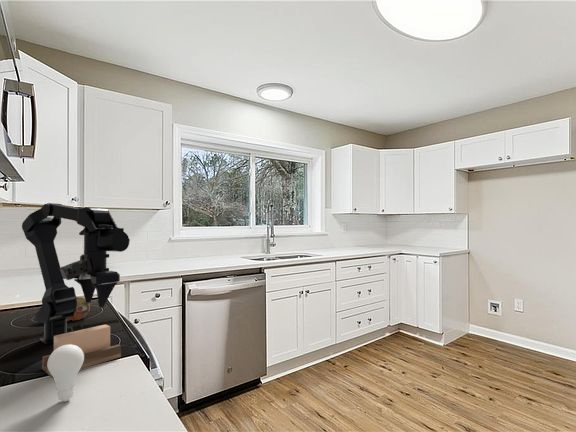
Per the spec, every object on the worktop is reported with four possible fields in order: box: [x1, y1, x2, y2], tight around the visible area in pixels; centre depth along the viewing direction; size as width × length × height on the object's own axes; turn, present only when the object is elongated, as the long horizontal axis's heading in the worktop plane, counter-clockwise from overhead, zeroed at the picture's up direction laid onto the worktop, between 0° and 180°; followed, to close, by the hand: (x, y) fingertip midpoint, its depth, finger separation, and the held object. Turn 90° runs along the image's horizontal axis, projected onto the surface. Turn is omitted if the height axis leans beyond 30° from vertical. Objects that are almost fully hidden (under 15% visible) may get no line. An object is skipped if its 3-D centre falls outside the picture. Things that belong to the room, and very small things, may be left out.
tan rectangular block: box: [53, 324, 111, 354], centre depth 86 cm, size 3×12×7 cm, turn 141°
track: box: [41, 339, 122, 379], centre depth 85 cm, size 8×16×3 cm, turn 141°
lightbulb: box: [47, 344, 84, 403], centre depth 67 cm, size 6×6×11 cm
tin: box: [67, 296, 91, 322], centre depth 125 cm, size 15×3×8 cm, turn 105°
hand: (94, 304), depth 97 cm, fingers open, 9 cm apart
